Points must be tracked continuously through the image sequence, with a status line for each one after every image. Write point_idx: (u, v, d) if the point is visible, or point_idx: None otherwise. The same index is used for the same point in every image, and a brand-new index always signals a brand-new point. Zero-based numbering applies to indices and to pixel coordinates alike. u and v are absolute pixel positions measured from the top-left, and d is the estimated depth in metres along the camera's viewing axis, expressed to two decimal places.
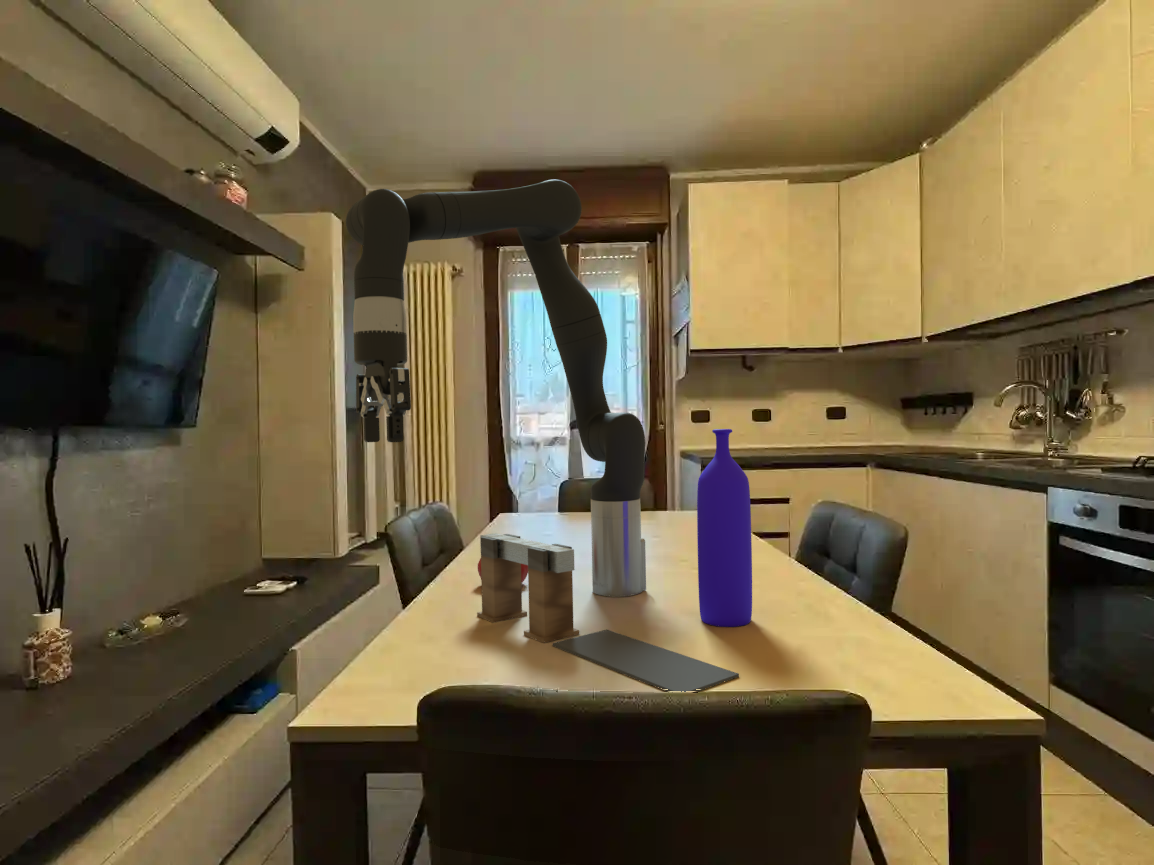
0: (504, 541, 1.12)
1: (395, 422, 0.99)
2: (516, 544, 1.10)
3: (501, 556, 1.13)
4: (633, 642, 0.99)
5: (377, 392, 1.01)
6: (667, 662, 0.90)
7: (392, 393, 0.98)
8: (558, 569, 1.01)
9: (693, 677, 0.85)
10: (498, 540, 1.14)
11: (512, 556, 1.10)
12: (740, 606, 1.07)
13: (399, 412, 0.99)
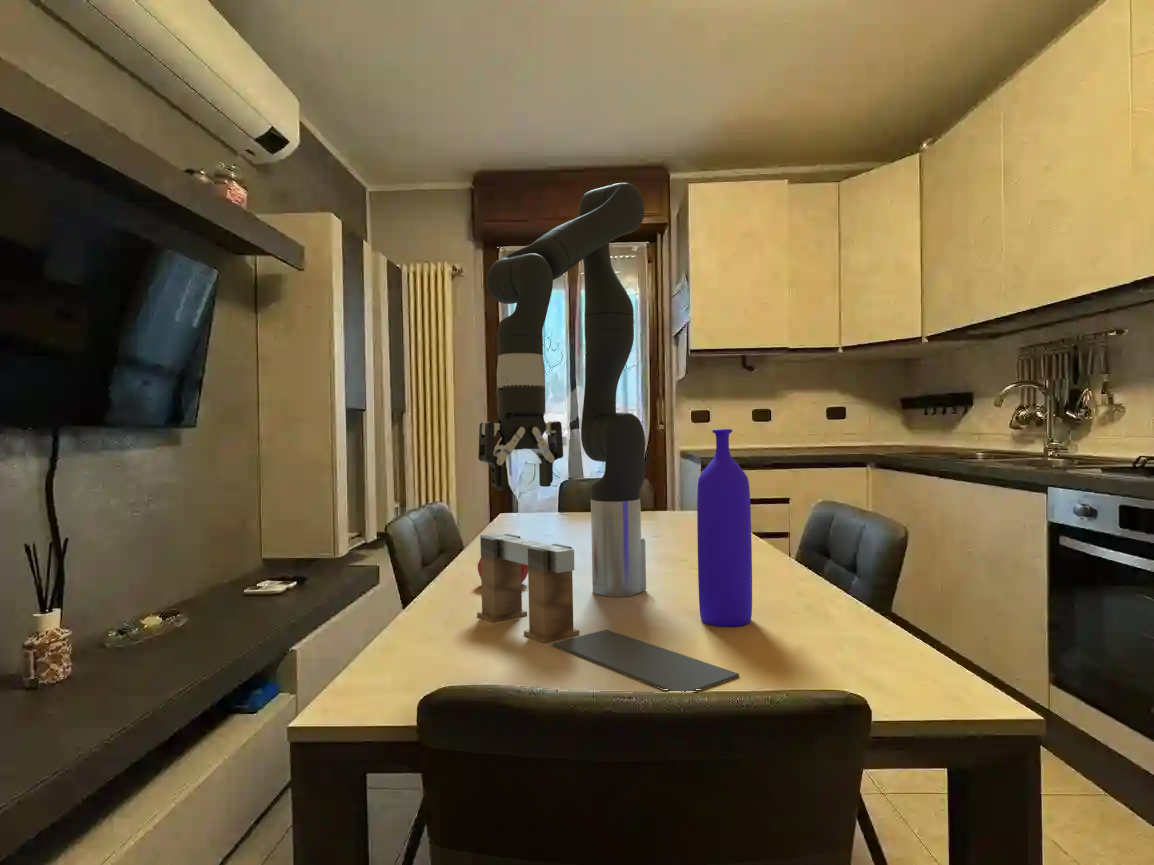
0: (504, 541, 1.12)
1: None
2: (516, 544, 1.10)
3: (501, 556, 1.13)
4: (633, 642, 0.99)
5: (541, 442, 1.11)
6: (667, 662, 0.90)
7: (560, 443, 1.14)
8: (558, 569, 1.01)
9: (693, 677, 0.85)
10: (498, 540, 1.14)
11: (512, 556, 1.10)
12: (740, 606, 1.07)
13: None
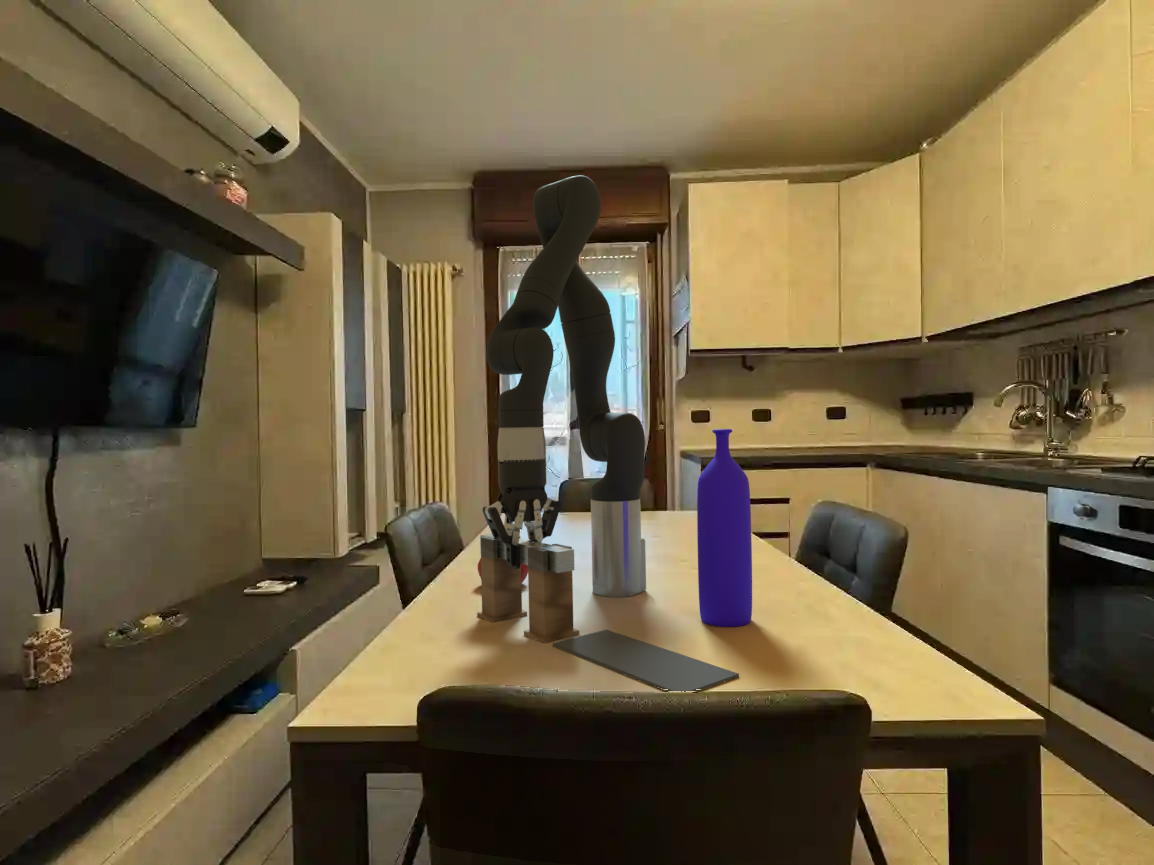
0: None
1: None
2: None
3: (501, 556, 1.13)
4: (633, 642, 0.99)
5: (537, 516, 1.10)
6: (667, 662, 0.90)
7: (552, 522, 1.13)
8: (558, 569, 1.01)
9: (693, 677, 0.85)
10: None
11: None
12: (740, 606, 1.07)
13: None
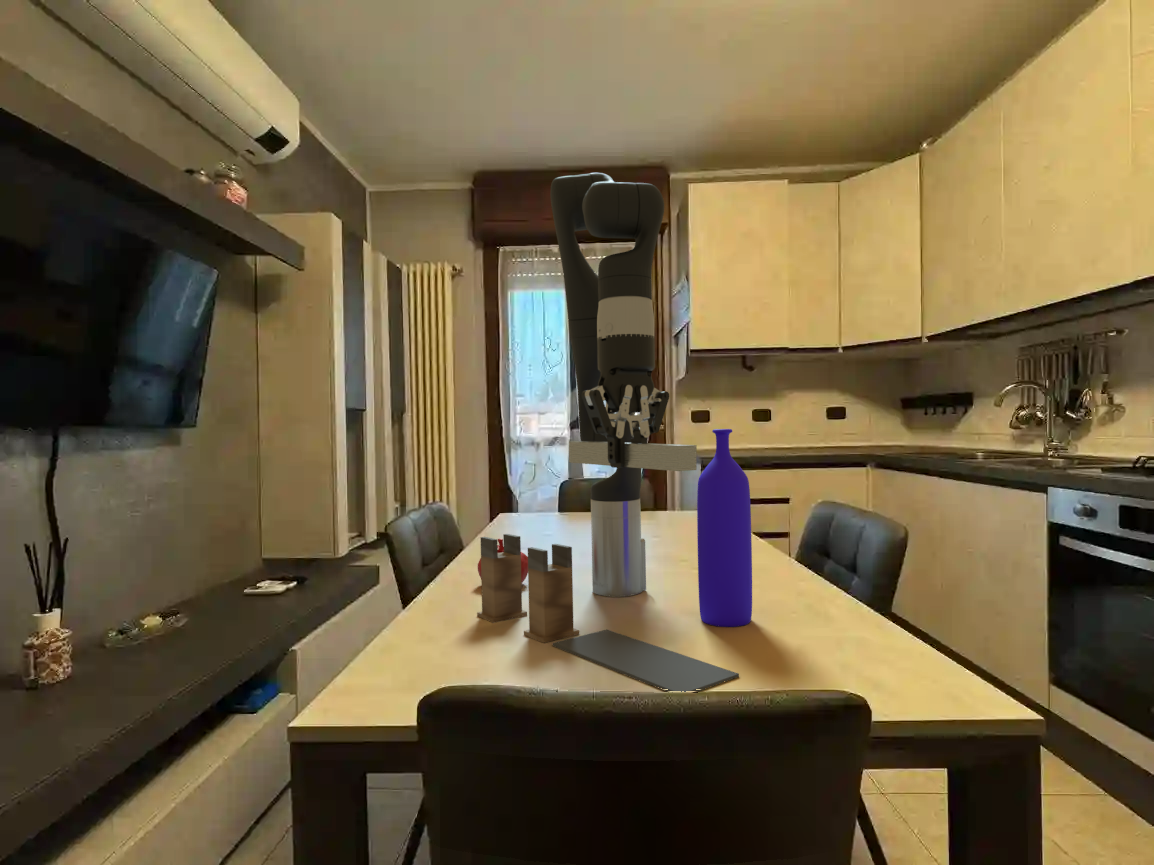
0: (602, 444, 0.95)
1: None
2: None
3: (598, 462, 0.96)
4: (633, 642, 0.99)
5: (644, 406, 0.93)
6: (667, 662, 0.90)
7: (660, 416, 0.95)
8: (679, 467, 0.83)
9: (693, 677, 0.85)
10: (594, 444, 0.96)
11: None
12: (740, 606, 1.07)
13: None
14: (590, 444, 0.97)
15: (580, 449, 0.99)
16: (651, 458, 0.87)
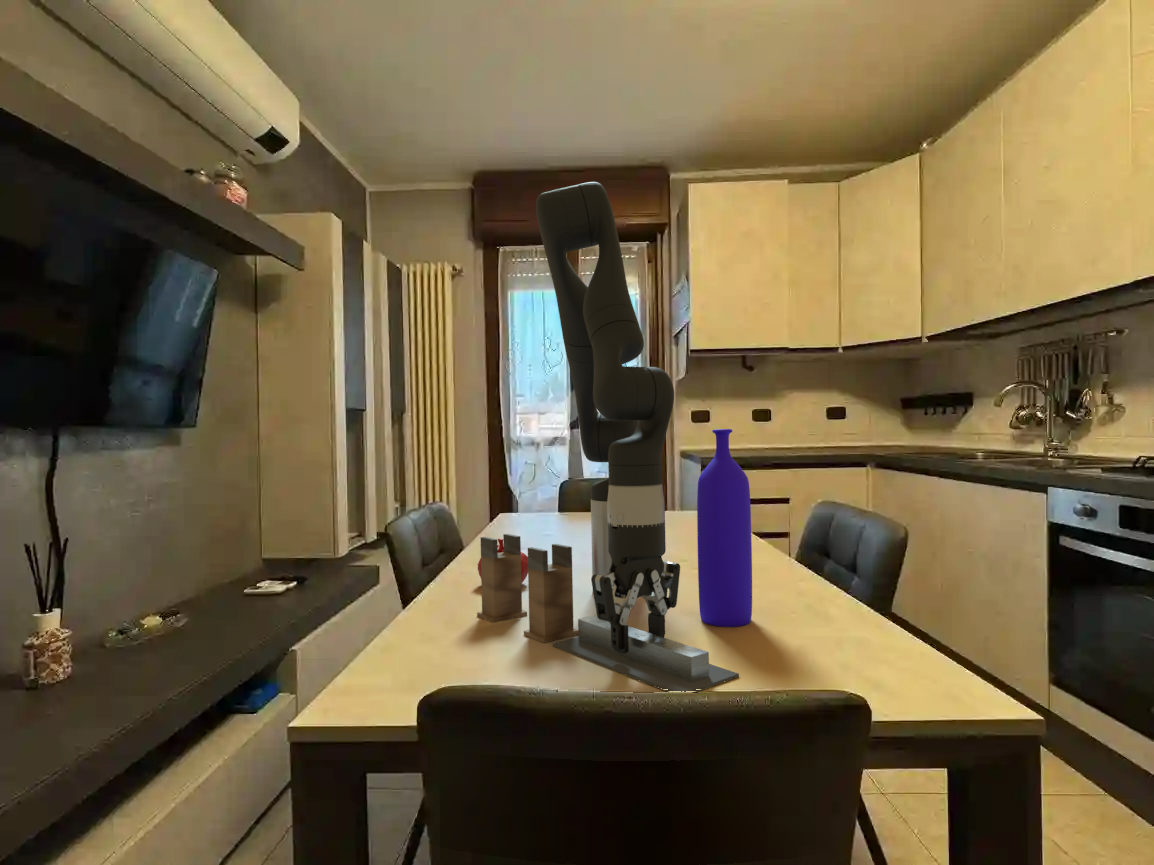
0: None
1: None
2: (630, 638, 0.92)
3: (608, 649, 0.96)
4: None
5: (657, 589, 0.93)
6: None
7: (675, 590, 0.95)
8: (692, 678, 0.83)
9: None
10: (604, 629, 0.96)
11: None
12: (740, 606, 1.07)
13: None
14: (599, 628, 0.97)
15: (589, 630, 0.99)
16: (663, 661, 0.87)
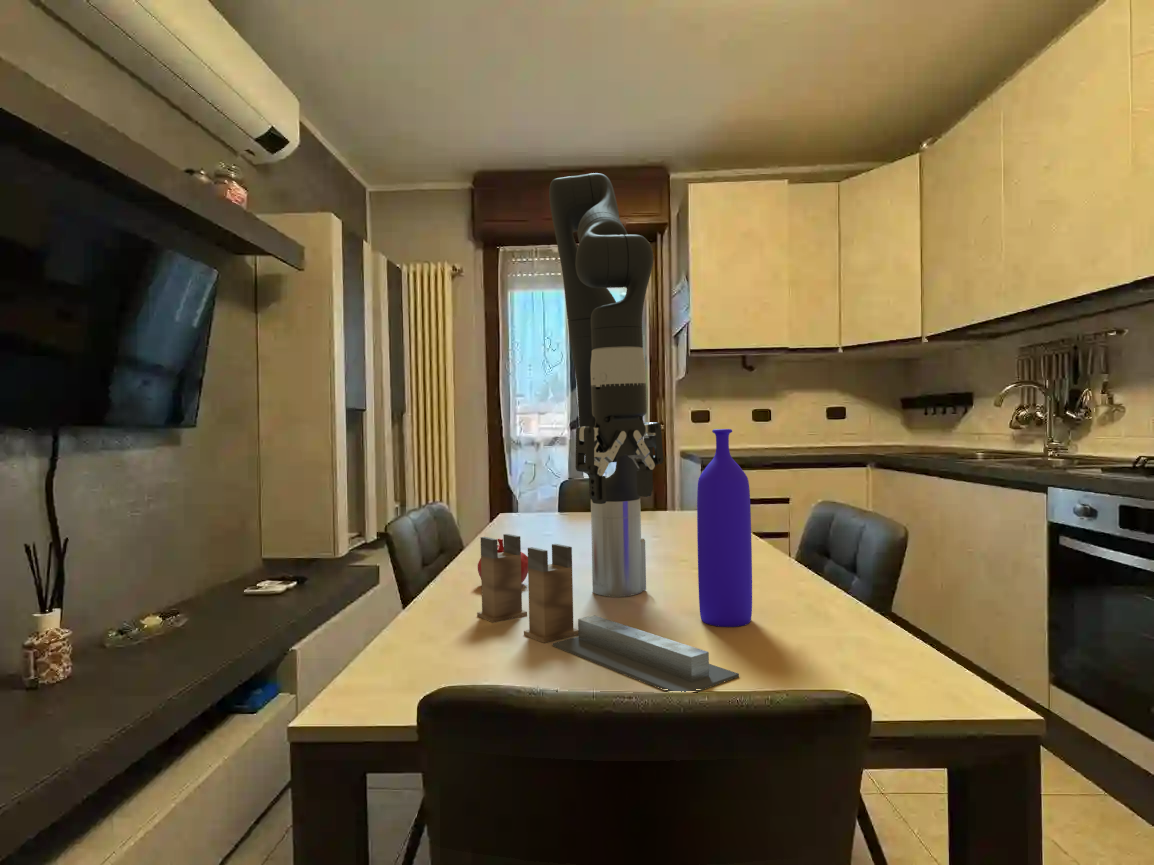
0: (612, 631, 0.95)
1: None
2: (630, 638, 0.92)
3: (608, 649, 0.96)
4: None
5: (641, 447, 0.98)
6: None
7: (659, 447, 1.01)
8: (692, 678, 0.83)
9: None
10: (604, 629, 0.96)
11: (625, 652, 0.93)
12: (740, 606, 1.07)
13: None
14: (599, 628, 0.97)
15: (589, 630, 0.99)
16: (663, 661, 0.87)
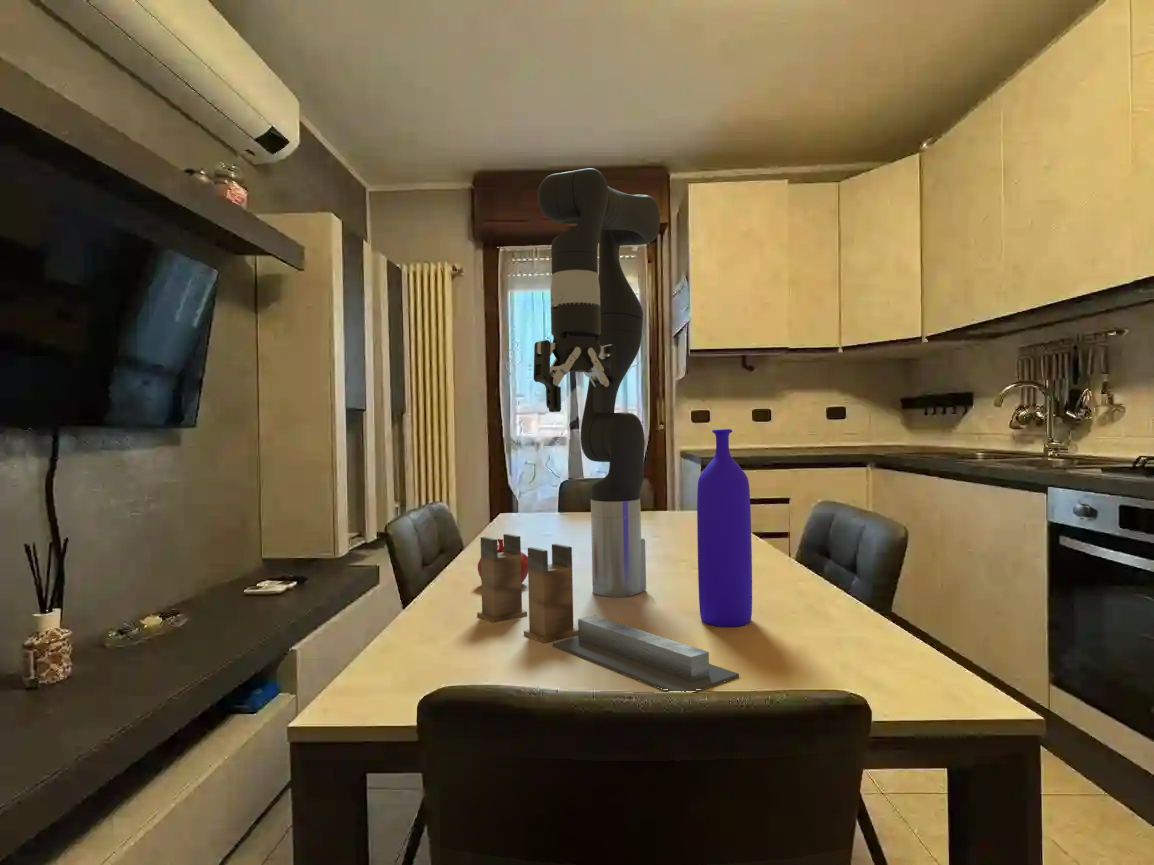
0: (612, 631, 0.95)
1: None
2: (630, 638, 0.92)
3: (608, 649, 0.96)
4: None
5: (596, 364, 1.07)
6: None
7: (614, 367, 1.10)
8: (692, 678, 0.83)
9: None
10: (604, 629, 0.96)
11: (625, 652, 0.93)
12: (740, 606, 1.07)
13: None
14: (599, 628, 0.97)
15: (589, 630, 0.99)
16: (663, 661, 0.87)
